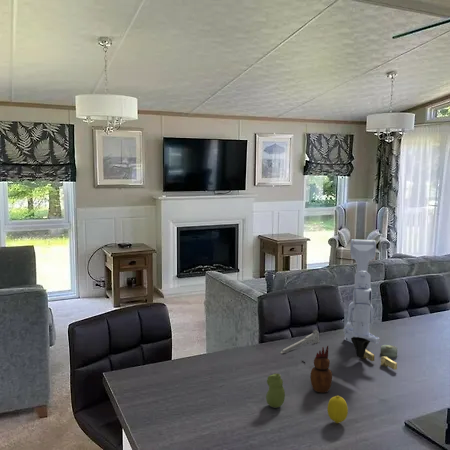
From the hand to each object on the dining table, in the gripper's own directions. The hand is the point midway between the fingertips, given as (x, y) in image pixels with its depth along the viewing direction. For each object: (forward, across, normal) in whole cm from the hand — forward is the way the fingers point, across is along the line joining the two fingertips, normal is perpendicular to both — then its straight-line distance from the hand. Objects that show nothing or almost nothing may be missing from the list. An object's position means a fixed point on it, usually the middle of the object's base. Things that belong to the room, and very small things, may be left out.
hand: (360, 356), depth 164 cm
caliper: (+3, -24, -6) cm, 26 cm away
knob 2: (+2, +10, +3) cm, 10 cm away
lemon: (+3, +22, -38) cm, 44 cm away
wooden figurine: (+3, +6, -27) cm, 28 cm away
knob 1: (+2, +1, +3) cm, 4 cm away
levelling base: (+3, +2, +9) cm, 10 cm away
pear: (+3, +4, -46) cm, 46 cm away
